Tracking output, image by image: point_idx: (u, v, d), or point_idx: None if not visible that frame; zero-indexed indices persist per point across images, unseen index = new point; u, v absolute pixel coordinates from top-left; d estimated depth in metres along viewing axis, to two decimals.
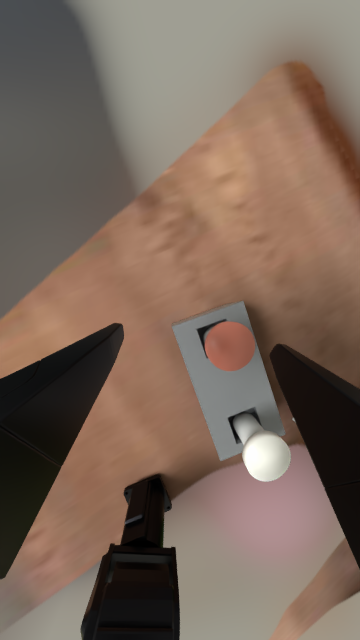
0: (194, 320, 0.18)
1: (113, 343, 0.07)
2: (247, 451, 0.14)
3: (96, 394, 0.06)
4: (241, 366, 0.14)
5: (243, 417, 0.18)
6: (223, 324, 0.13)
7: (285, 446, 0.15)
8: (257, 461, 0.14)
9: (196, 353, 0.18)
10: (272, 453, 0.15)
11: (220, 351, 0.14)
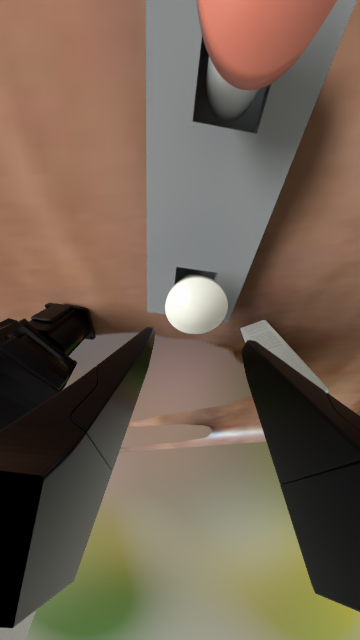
0: None
1: (149, 347, 0.07)
2: (175, 286, 0.10)
3: (136, 398, 0.06)
4: (261, 64, 0.05)
5: (196, 276, 0.13)
6: None
7: (224, 306, 0.11)
8: (182, 304, 0.11)
9: (178, 85, 0.08)
10: (204, 305, 0.11)
11: None
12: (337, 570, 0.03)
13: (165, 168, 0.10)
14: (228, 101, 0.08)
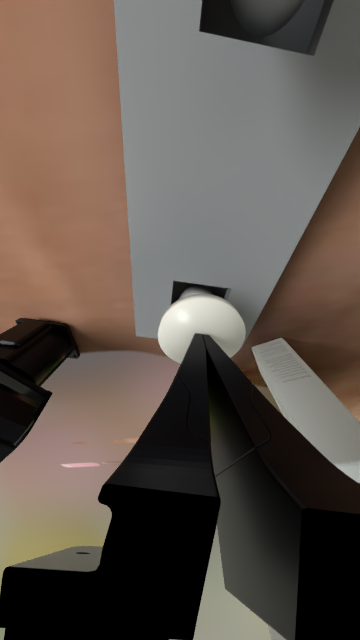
0: None
1: None
2: (171, 309, 0.07)
3: None
4: None
5: (199, 288, 0.10)
6: None
7: (241, 336, 0.08)
8: (181, 332, 0.08)
9: None
10: (212, 334, 0.08)
11: None
12: (237, 563, 0.03)
13: (153, 127, 0.06)
14: None
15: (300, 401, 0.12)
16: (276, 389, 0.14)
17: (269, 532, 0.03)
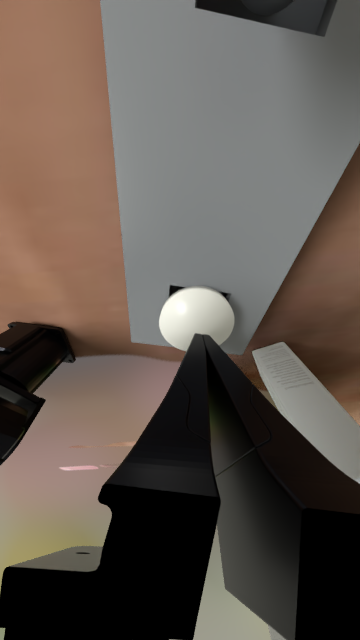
0: None
1: None
2: (171, 299, 0.08)
3: None
4: None
5: None
6: None
7: (230, 322, 0.09)
8: (179, 319, 0.09)
9: None
10: (206, 321, 0.09)
11: None
12: (237, 564, 0.03)
13: (145, 118, 0.05)
14: None
15: (303, 410, 0.12)
16: (278, 396, 0.14)
17: (269, 532, 0.03)
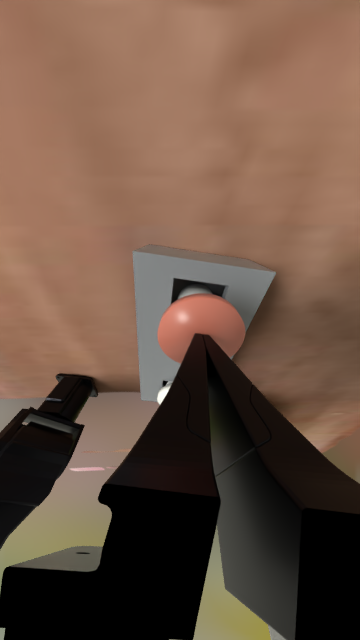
0: (177, 261, 0.09)
1: None
2: (163, 391, 0.16)
3: None
4: None
5: None
6: (210, 302, 0.07)
7: None
8: None
9: (157, 311, 0.12)
10: None
11: (180, 337, 0.08)
12: (237, 564, 0.03)
13: (151, 340, 0.13)
14: None
15: None
16: None
17: (270, 532, 0.03)
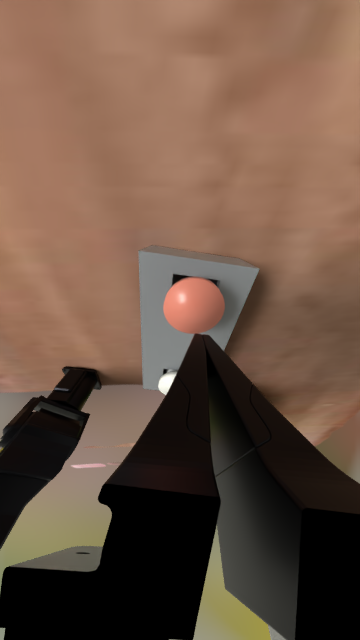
0: (176, 259, 0.11)
1: None
2: (163, 378, 0.18)
3: None
4: (193, 332, 0.12)
5: None
6: (199, 281, 0.10)
7: None
8: (167, 385, 0.19)
9: (159, 303, 0.13)
10: None
11: (179, 308, 0.11)
12: (237, 564, 0.03)
13: (153, 330, 0.15)
14: None
15: None
16: None
17: (270, 532, 0.03)
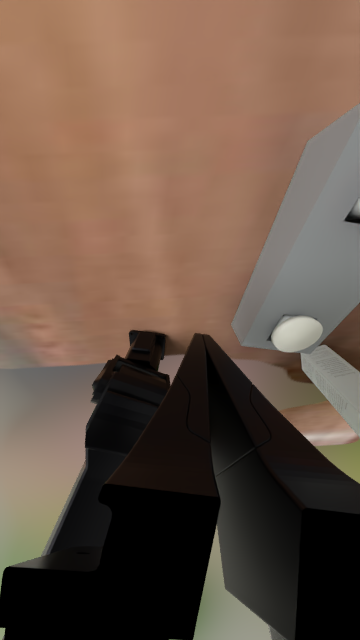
0: None
1: None
2: (289, 323, 0.15)
3: None
4: None
5: None
6: None
7: (318, 335, 0.16)
8: (289, 333, 0.16)
9: (342, 200, 0.10)
10: (304, 334, 0.16)
11: None
12: (237, 563, 0.03)
13: (307, 249, 0.12)
14: (354, 218, 0.12)
15: (351, 389, 0.19)
16: (330, 382, 0.20)
17: (269, 532, 0.03)
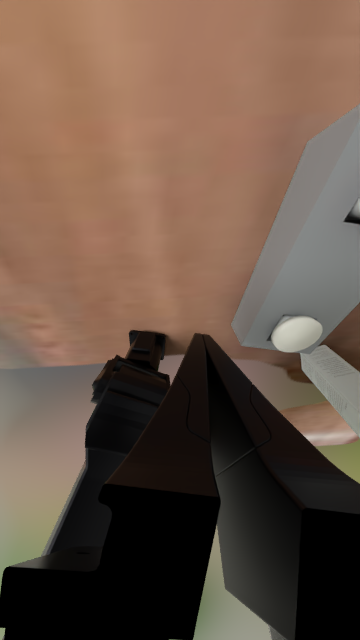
0: None
1: None
2: (289, 323, 0.15)
3: None
4: None
5: None
6: None
7: (318, 335, 0.16)
8: (289, 333, 0.16)
9: (341, 200, 0.10)
10: (304, 334, 0.16)
11: None
12: (237, 564, 0.03)
13: (307, 249, 0.12)
14: (353, 218, 0.12)
15: (350, 389, 0.19)
16: (330, 382, 0.20)
17: (270, 532, 0.03)
